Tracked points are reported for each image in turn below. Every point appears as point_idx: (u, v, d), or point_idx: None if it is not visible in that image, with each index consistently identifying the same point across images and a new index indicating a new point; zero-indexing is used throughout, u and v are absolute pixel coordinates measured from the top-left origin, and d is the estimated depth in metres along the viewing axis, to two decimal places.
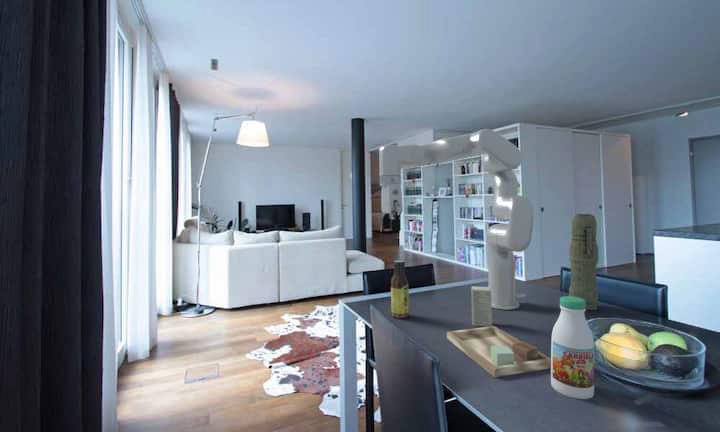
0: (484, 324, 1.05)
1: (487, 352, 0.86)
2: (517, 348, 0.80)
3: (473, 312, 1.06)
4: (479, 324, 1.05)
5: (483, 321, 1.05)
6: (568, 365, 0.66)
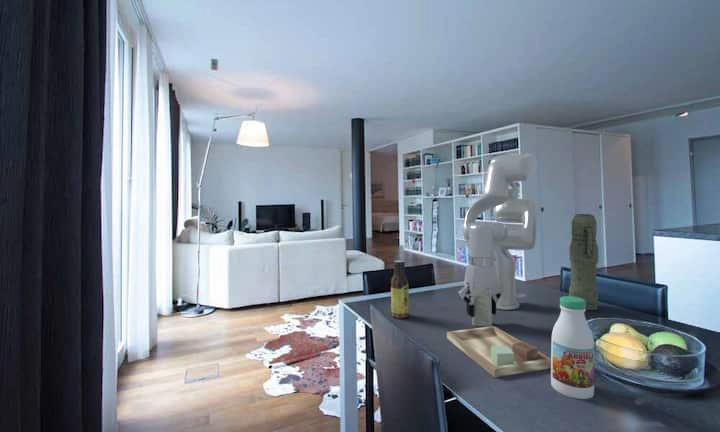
0: (484, 324, 1.05)
1: (487, 352, 0.86)
2: (517, 348, 0.80)
3: None
4: (479, 324, 1.05)
5: (483, 321, 1.05)
6: (568, 365, 0.66)
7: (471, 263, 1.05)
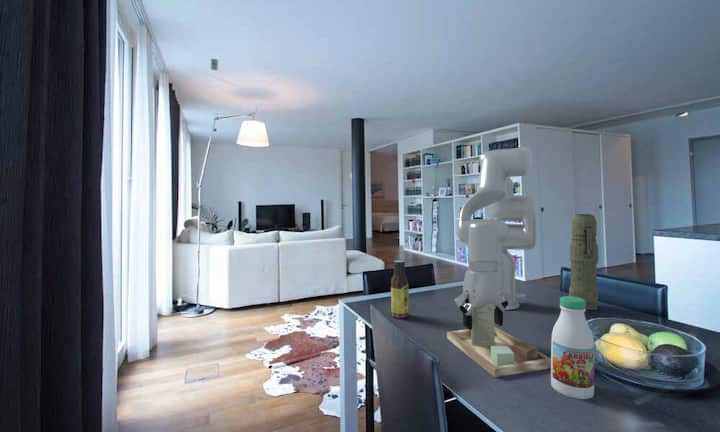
0: (486, 344, 0.89)
1: (487, 352, 0.86)
2: (517, 348, 0.80)
3: (472, 329, 0.90)
4: (480, 344, 0.89)
5: (484, 340, 0.89)
6: (568, 365, 0.66)
7: (471, 268, 0.89)
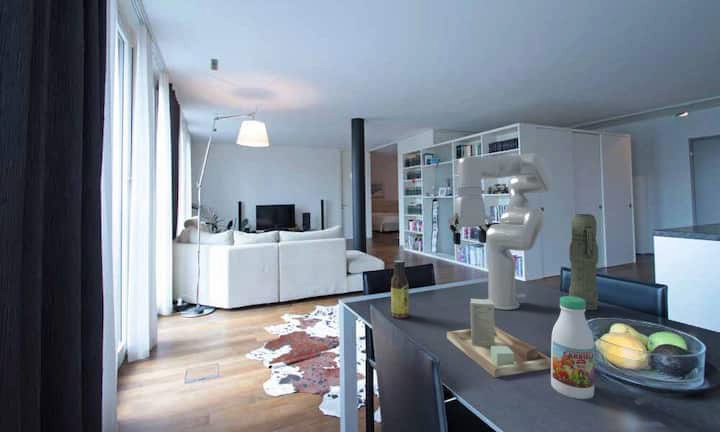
0: (486, 344, 0.89)
1: (487, 352, 0.86)
2: (517, 348, 0.80)
3: (472, 329, 0.90)
4: (479, 344, 0.89)
5: (484, 340, 0.89)
6: (568, 365, 0.66)
7: (460, 194, 1.09)
